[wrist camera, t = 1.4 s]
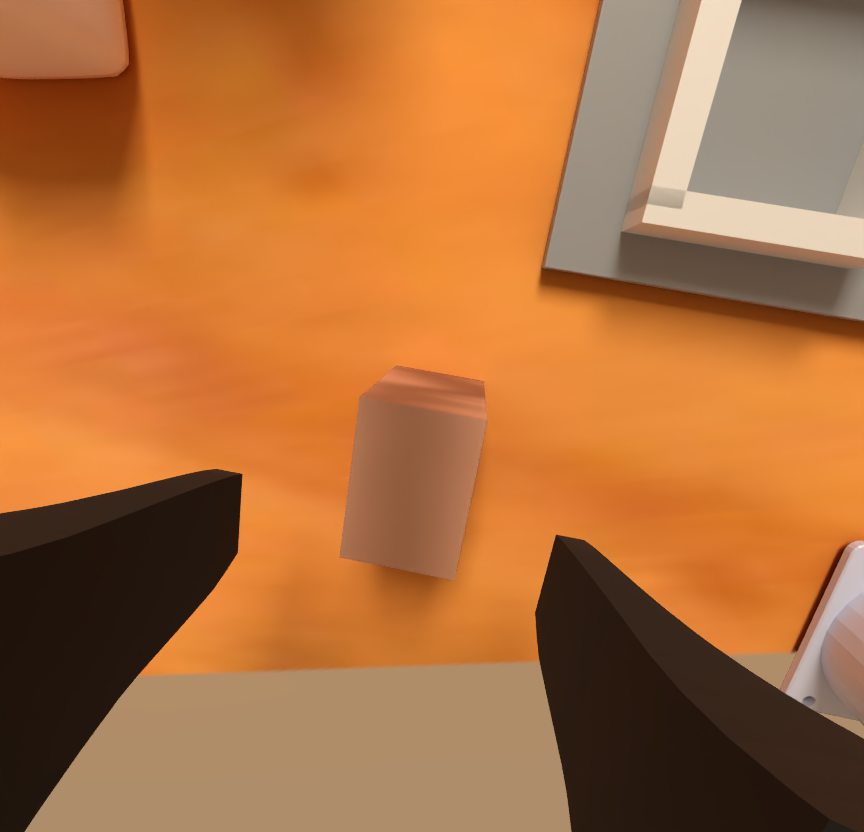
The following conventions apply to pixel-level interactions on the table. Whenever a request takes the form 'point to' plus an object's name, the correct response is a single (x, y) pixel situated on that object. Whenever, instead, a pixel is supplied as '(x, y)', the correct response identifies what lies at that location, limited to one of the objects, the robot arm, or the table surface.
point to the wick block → (414, 471)
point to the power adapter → (62, 39)
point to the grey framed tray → (720, 153)
